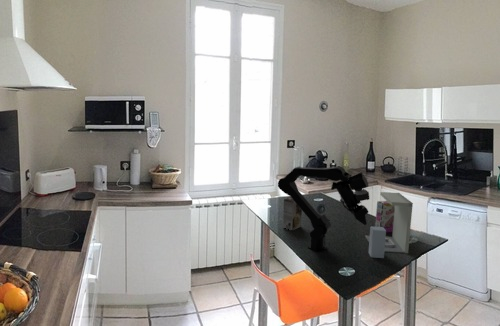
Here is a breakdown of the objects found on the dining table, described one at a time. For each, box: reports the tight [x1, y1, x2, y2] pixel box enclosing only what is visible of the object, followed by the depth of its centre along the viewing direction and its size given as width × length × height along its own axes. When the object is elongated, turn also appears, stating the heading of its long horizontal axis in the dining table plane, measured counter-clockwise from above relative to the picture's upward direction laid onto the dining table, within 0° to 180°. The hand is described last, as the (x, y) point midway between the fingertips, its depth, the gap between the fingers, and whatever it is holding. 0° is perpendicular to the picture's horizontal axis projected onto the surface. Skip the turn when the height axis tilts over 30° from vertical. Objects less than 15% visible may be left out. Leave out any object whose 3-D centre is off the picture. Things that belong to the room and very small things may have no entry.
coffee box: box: [282, 196, 303, 231], centre depth 199 cm, size 9×6×16 cm
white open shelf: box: [364, 191, 414, 254], centre depth 177 cm, size 15×20×24 cm
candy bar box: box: [374, 200, 395, 234], centre depth 196 cm, size 11×5×16 cm, turn 108°
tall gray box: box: [368, 225, 387, 259], centre depth 164 cm, size 6×5×12 cm
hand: (361, 220), depth 167 cm, fingers open, 9 cm apart
